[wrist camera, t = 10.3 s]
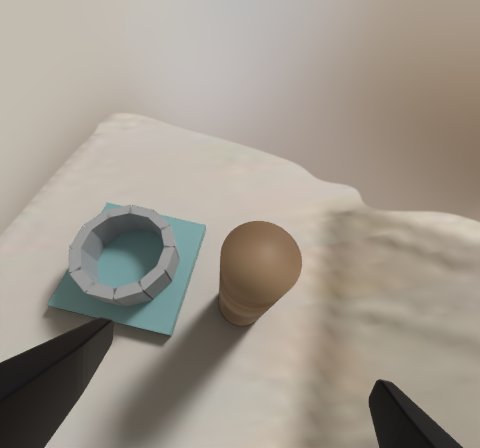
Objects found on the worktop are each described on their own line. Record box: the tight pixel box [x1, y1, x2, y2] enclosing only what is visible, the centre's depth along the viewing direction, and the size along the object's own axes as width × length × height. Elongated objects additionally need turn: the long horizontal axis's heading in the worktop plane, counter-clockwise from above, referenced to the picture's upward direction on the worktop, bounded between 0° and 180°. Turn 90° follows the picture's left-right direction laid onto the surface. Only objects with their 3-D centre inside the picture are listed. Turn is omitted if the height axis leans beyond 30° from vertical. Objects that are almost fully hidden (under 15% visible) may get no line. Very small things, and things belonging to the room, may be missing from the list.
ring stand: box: [47, 203, 206, 336], centre depth 21 cm, size 10×10×4 cm
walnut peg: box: [219, 221, 302, 326], centre depth 17 cm, size 4×4×11 cm
